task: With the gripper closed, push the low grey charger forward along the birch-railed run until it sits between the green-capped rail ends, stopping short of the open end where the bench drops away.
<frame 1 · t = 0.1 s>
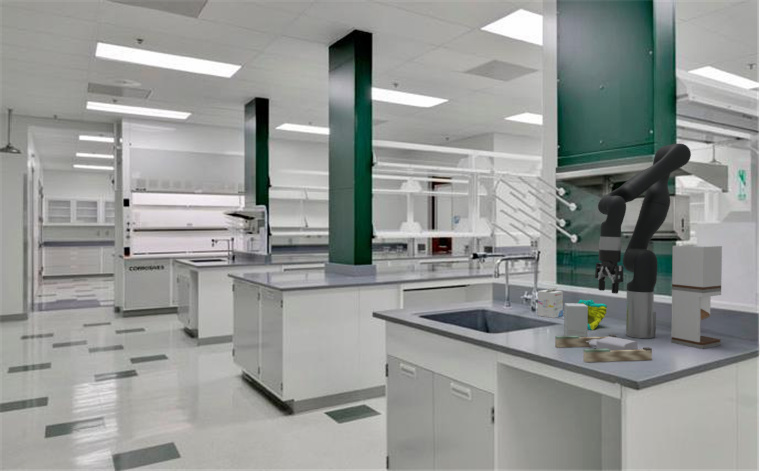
hand: (608, 291, 189), 17 cm above the counter, tool pointing down, fingers open, 8 cm apart
supplement box: (575, 338, 188), on the counter
charger: (608, 353, 168), on the counter
coffee maker: (695, 344, 179), on the counter
railed run: (601, 352, 166), on the counter
ink box: (550, 316, 234), on the counter
organ model: (587, 327, 210), on the counter
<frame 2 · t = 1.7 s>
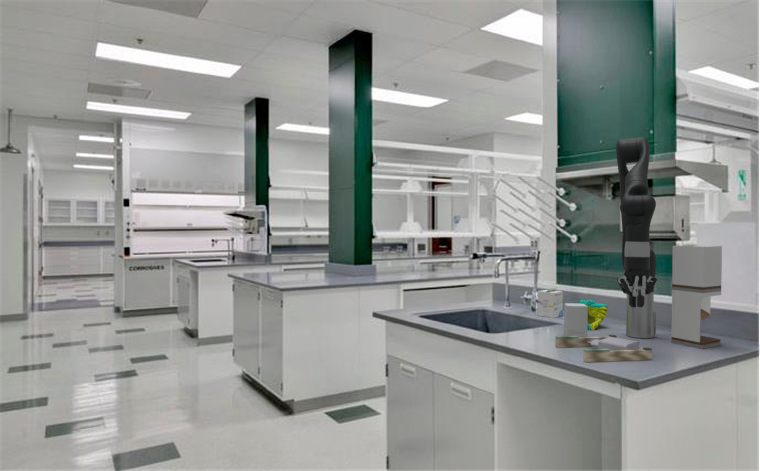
hand: (636, 306, 167), 15 cm above the counter, tool pointing down, fingers closed
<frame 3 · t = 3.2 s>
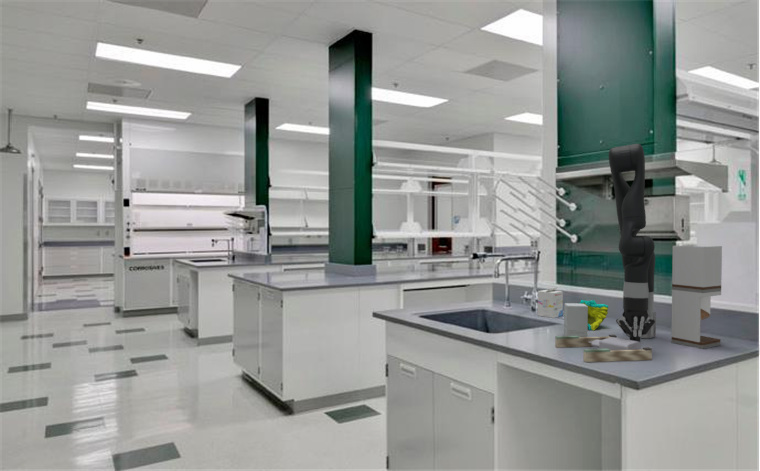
hand: (635, 347, 168), 2 cm above the counter, tool pointing down, fingers closed
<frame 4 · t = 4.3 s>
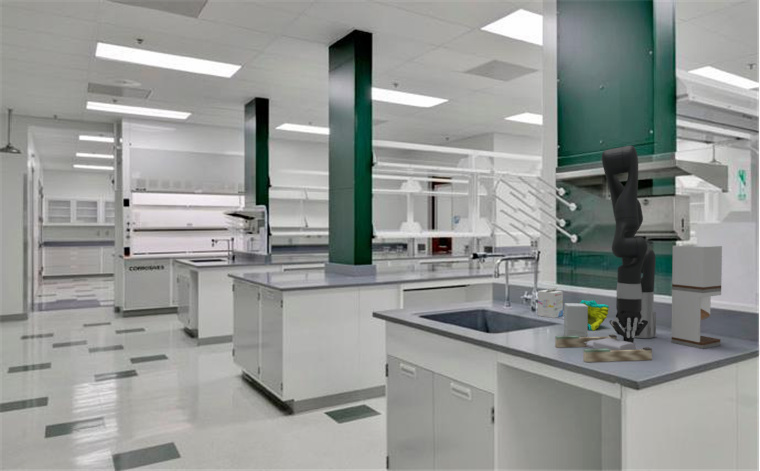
hand: (628, 348, 167), 1 cm above the counter, tool pointing down, fingers closed
charger: (605, 354, 167), on the counter, touching gripper
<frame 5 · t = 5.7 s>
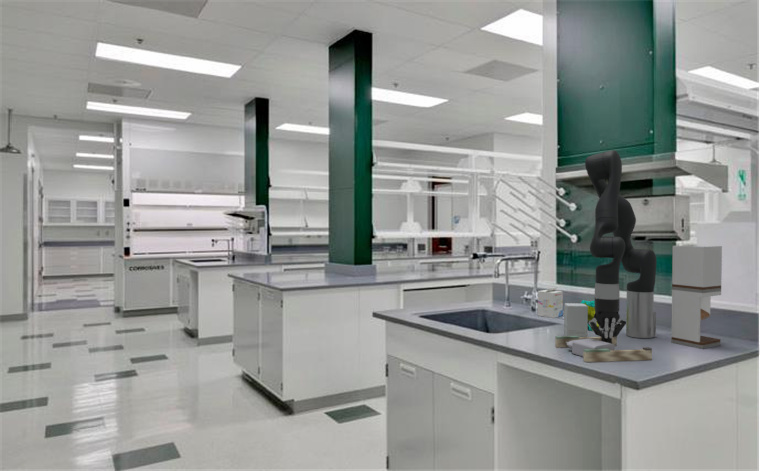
hand: (606, 348, 166), 1 cm above the counter, tool pointing down, fingers closed
charger: (585, 354, 165), on the counter
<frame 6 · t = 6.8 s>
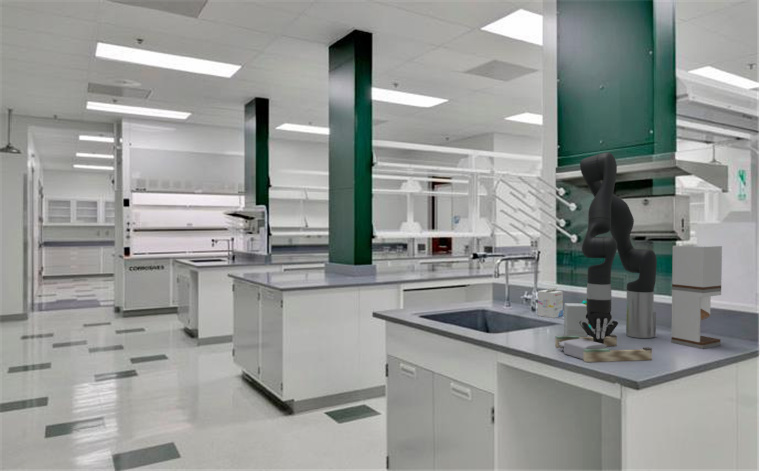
hand: (598, 349, 166), 1 cm above the counter, tool pointing down, fingers closed
charger: (577, 355, 165), on the counter
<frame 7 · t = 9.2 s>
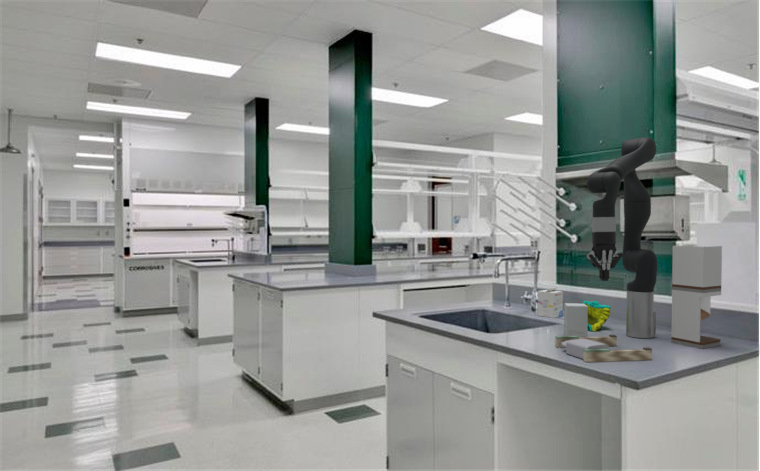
hand: (604, 280, 173), 23 cm above the counter, tool pointing down, fingers closed
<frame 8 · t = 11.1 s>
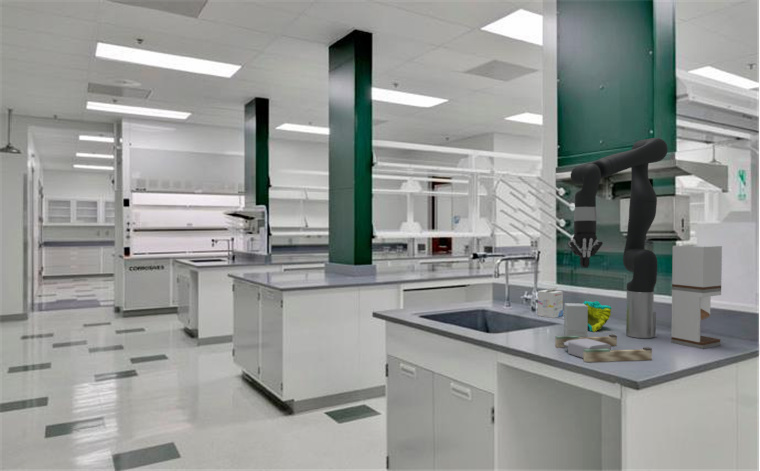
hand: (584, 267, 182), 27 cm above the counter, tool pointing down, fingers closed
at the end: charger inside the target area (1.2 cm from its centre), on the counter; charger tilted 0° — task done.
